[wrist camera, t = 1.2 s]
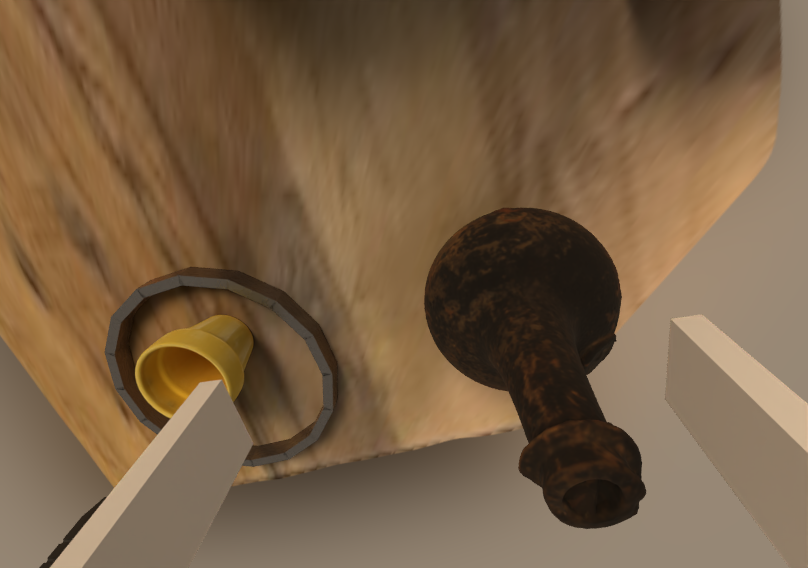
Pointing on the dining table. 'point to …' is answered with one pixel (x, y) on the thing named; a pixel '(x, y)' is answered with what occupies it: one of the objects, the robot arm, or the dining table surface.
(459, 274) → the glass bottle
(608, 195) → the dining table surface
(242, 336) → the plant pot
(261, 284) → the centring collar
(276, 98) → the dining table surface
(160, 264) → the dining table surface
